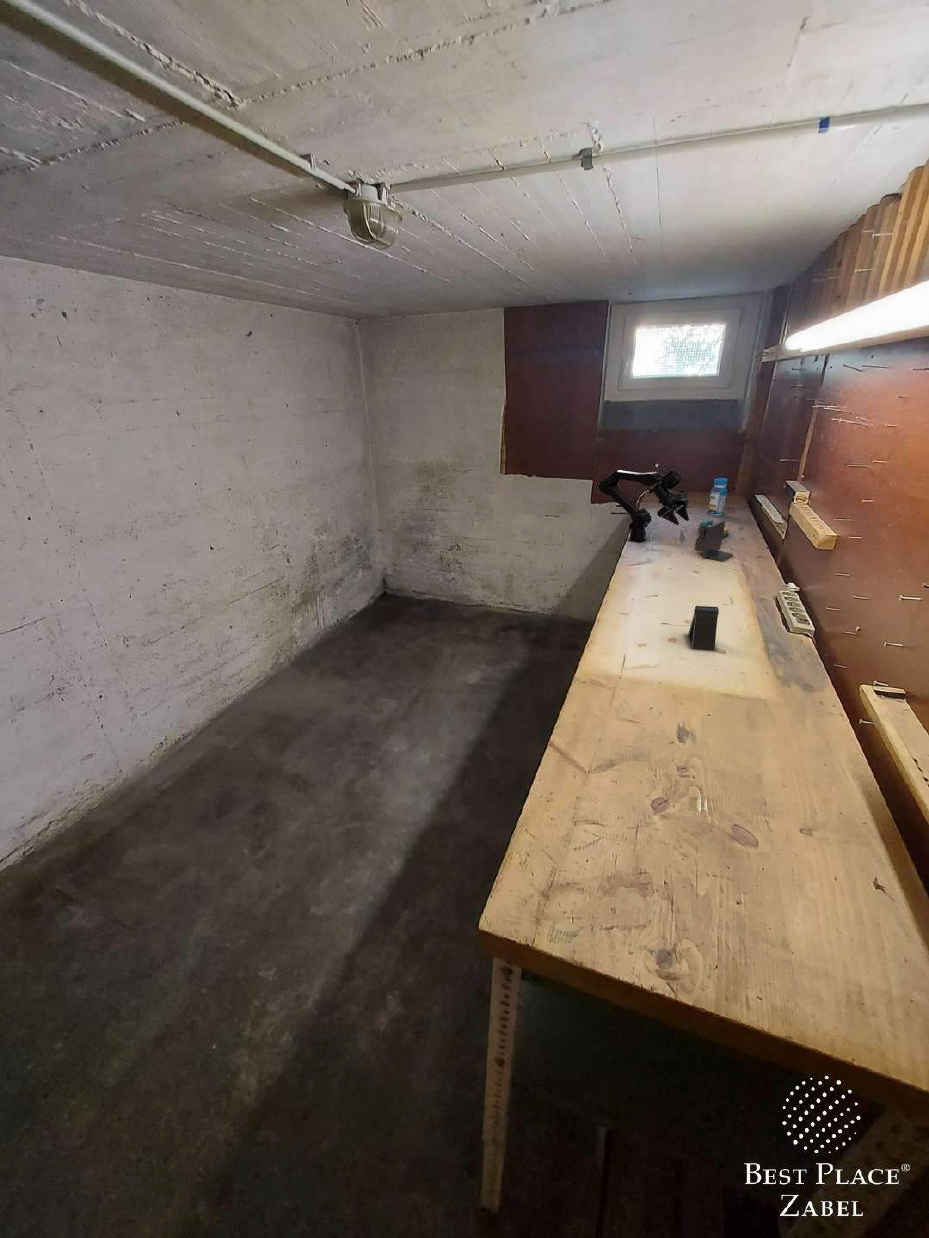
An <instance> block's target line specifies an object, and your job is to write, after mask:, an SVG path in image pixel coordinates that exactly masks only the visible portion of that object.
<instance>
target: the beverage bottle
mask: <svg viewBox="0 0 929 1238" xmlns="http://www.w3.org/2000/svg"><path fill="white" fill-rule="evenodd" d="M728 481H729V480H728V478H726V477H725V478H724V477H717V478H714V481H713V485H714V486H713V487H712V488H711V490H710V495H709V503H708V508H707V514H708V515H709V516H715V517H719V516H723V515H724V509H725V504H726V499H727V496H728V495H727V493H728V489H727V486H728Z"/></svg>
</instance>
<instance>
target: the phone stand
mask: <svg viewBox="0 0 929 1238" xmlns="http://www.w3.org/2000/svg"><path fill="white" fill-rule="evenodd" d="M719 611H720V608H719V606H709V605H695V607H694V610H693V616H692V619H691V622H690V626H689V629H688V633H687V636H688V639H689V643H690V645H691V648H692V649H695V650H709V651H715V649H716V637H717V628H718V627H717V626H718V618H719V614H720V612H719Z"/></svg>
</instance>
